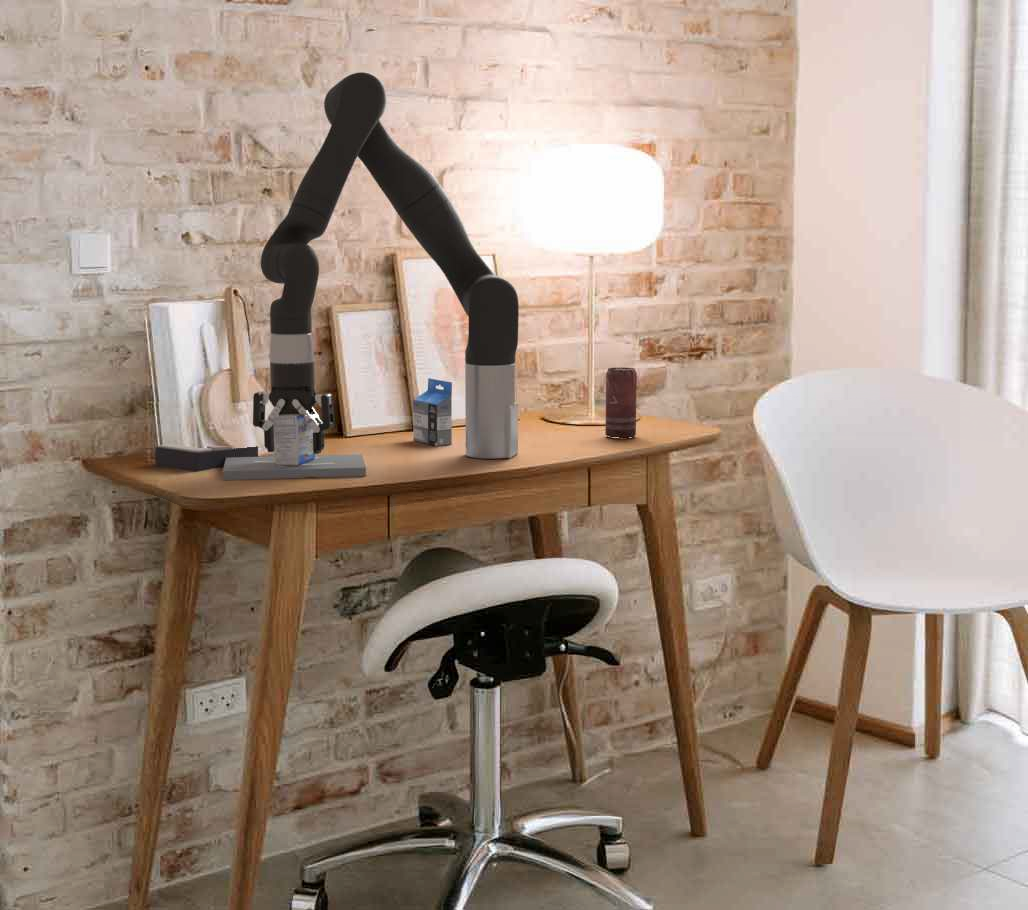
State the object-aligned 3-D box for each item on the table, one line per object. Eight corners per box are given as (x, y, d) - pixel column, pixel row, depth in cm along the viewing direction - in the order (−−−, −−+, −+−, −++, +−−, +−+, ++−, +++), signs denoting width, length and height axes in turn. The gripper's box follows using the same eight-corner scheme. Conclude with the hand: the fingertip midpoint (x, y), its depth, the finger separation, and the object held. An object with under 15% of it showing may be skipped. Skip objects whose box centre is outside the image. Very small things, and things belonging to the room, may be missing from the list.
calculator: (259, 442, 250) (196, 448, 238) (259, 465, 251) (196, 473, 239) (218, 436, 257) (154, 442, 244) (217, 459, 257) (154, 466, 245)
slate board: (361, 462, 248) (361, 454, 248) (366, 476, 234) (365, 467, 234) (226, 465, 244) (226, 457, 244) (222, 480, 231) (222, 471, 230)
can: (628, 440, 273) (629, 370, 271) (600, 437, 277) (601, 368, 274) (642, 436, 278) (643, 367, 276) (614, 433, 282) (615, 366, 279)
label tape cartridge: (412, 440, 273) (411, 379, 271) (428, 439, 275) (427, 378, 273) (436, 446, 266) (436, 383, 264) (453, 444, 268) (452, 382, 266)
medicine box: (298, 466, 235) (297, 416, 233) (274, 465, 236) (272, 415, 234) (315, 459, 242) (314, 410, 241) (292, 458, 243) (290, 409, 242)
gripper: (338, 358, 238) (340, 450, 241) (262, 356, 241) (265, 447, 244) (322, 362, 231) (324, 457, 233) (244, 360, 234) (247, 454, 237)
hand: (294, 452), depth 239 cm, fingers open, 8 cm apart
